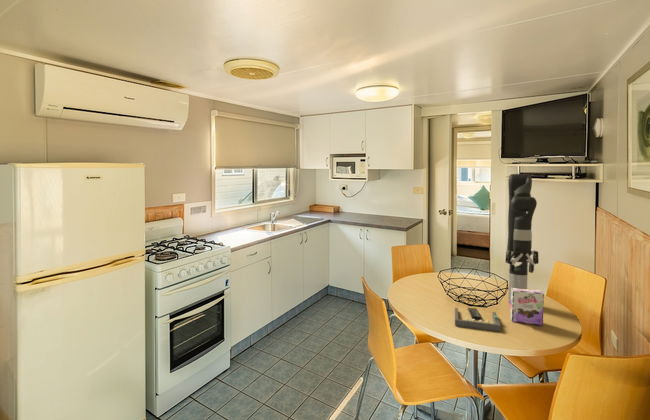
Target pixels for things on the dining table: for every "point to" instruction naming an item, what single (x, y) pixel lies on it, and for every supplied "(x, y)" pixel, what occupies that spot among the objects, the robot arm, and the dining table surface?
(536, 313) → the candy box
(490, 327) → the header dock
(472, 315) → the multiport hub
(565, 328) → the dining table surface
